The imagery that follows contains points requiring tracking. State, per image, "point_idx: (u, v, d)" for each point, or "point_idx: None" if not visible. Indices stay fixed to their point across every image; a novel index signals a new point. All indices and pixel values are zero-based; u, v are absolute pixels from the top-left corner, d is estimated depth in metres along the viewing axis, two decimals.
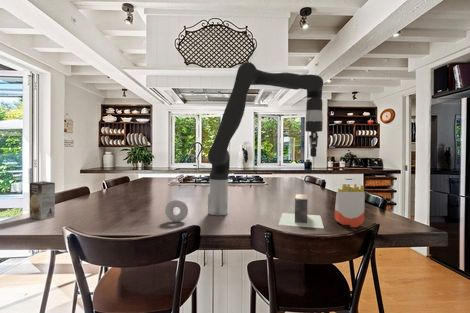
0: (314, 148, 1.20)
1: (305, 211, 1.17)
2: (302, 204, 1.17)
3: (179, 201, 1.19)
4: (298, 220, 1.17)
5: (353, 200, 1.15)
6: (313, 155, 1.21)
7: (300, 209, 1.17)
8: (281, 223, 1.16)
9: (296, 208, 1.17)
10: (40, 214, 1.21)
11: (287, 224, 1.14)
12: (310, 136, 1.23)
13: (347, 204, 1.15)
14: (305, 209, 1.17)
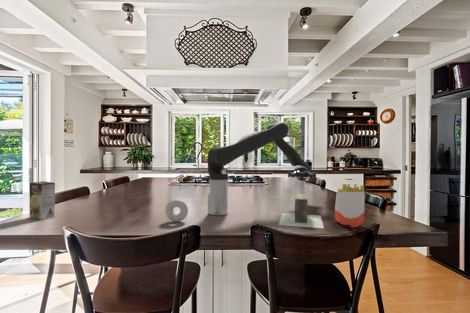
0: (312, 176, 1.40)
1: (305, 211, 1.17)
2: (302, 204, 1.17)
3: (179, 201, 1.19)
4: (298, 220, 1.17)
5: (353, 200, 1.15)
6: (311, 176, 1.38)
7: (300, 209, 1.17)
8: (281, 223, 1.16)
9: (296, 208, 1.17)
10: (40, 214, 1.21)
11: (287, 224, 1.14)
12: None
13: (347, 204, 1.15)
14: (305, 209, 1.17)
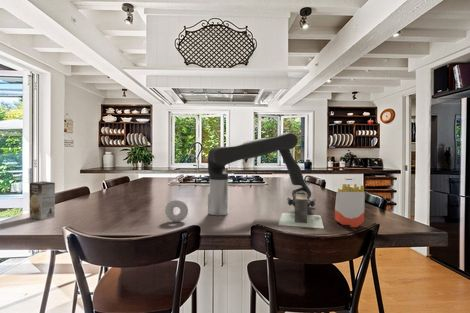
0: (309, 204, 1.27)
1: (305, 211, 1.17)
2: (302, 204, 1.17)
3: (179, 201, 1.19)
4: (298, 220, 1.17)
5: (353, 200, 1.15)
6: (308, 205, 1.24)
7: (300, 209, 1.17)
8: (281, 223, 1.16)
9: (296, 208, 1.17)
10: (40, 214, 1.21)
11: (287, 224, 1.14)
12: None
13: (347, 204, 1.15)
14: (305, 209, 1.17)
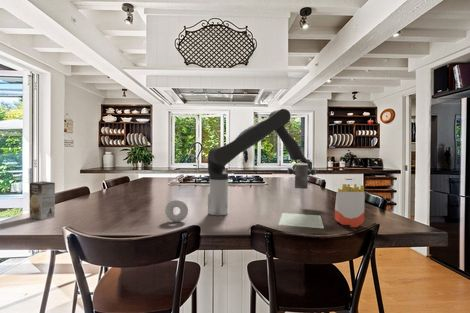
0: (310, 173, 1.27)
1: (305, 177, 1.16)
2: (302, 170, 1.16)
3: (179, 201, 1.19)
4: (298, 186, 1.17)
5: (353, 200, 1.15)
6: None
7: (300, 175, 1.17)
8: (281, 223, 1.16)
9: (296, 174, 1.17)
10: (40, 214, 1.21)
11: (287, 224, 1.14)
12: None
13: (347, 204, 1.15)
14: (305, 175, 1.16)
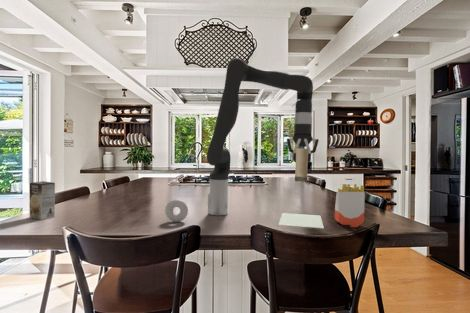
0: None
1: None
2: None
3: (179, 201, 1.19)
4: None
5: (353, 200, 1.15)
6: (308, 161, 1.20)
7: None
8: (281, 223, 1.16)
9: None
10: (40, 214, 1.21)
11: (287, 224, 1.14)
12: (307, 140, 1.19)
13: (347, 204, 1.15)
14: None
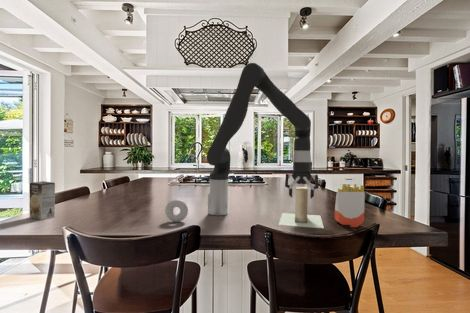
0: (314, 189, 1.20)
1: None
2: None
3: (179, 201, 1.19)
4: None
5: (353, 200, 1.15)
6: (312, 196, 1.20)
7: None
8: (281, 223, 1.16)
9: None
10: (40, 214, 1.21)
11: (287, 224, 1.14)
12: (306, 177, 1.19)
13: (347, 204, 1.15)
14: None
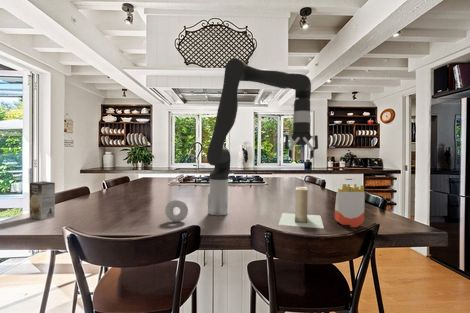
0: (313, 150, 1.20)
1: None
2: None
3: (179, 201, 1.19)
4: None
5: (353, 200, 1.15)
6: (311, 157, 1.20)
7: None
8: (281, 223, 1.16)
9: None
10: (40, 214, 1.21)
11: (287, 224, 1.14)
12: (305, 138, 1.19)
13: (347, 204, 1.15)
14: None
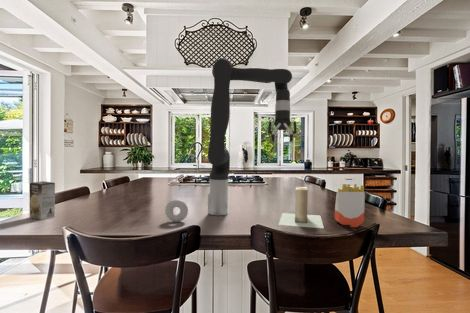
0: None
1: None
2: None
3: (179, 201, 1.19)
4: None
5: (353, 200, 1.15)
6: None
7: None
8: (281, 223, 1.16)
9: None
10: (40, 214, 1.21)
11: (287, 224, 1.14)
12: (286, 124, 1.38)
13: (347, 204, 1.15)
14: None
